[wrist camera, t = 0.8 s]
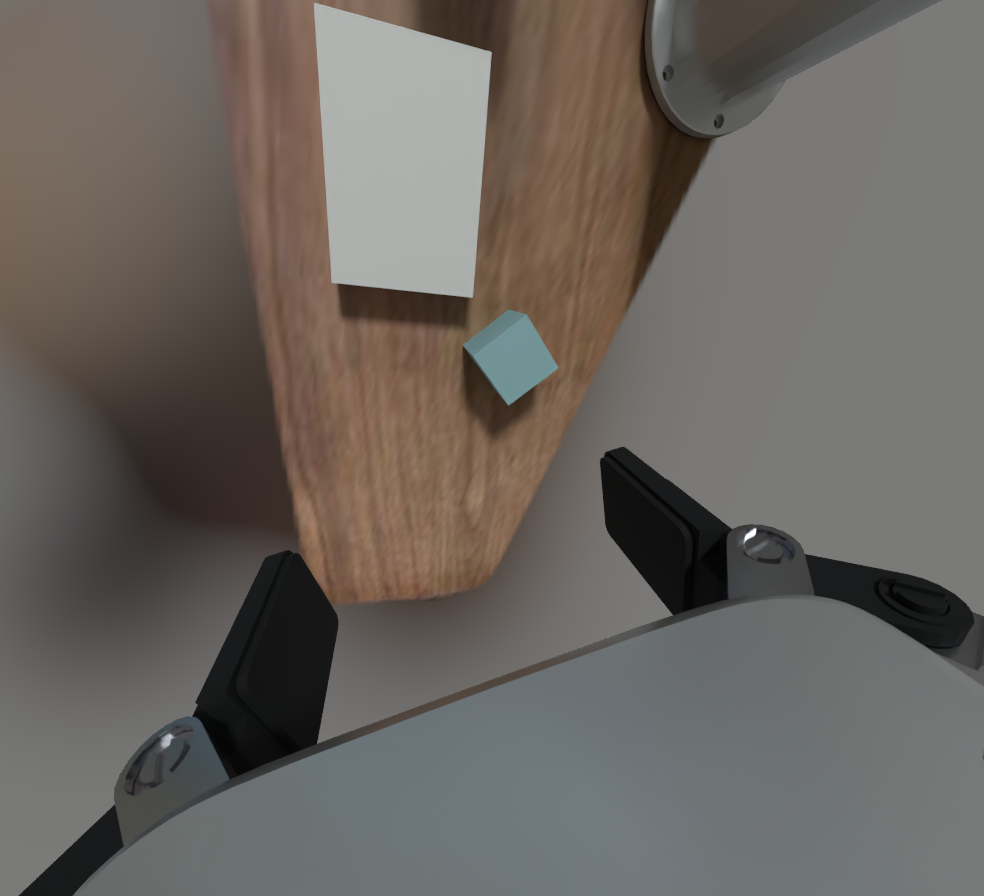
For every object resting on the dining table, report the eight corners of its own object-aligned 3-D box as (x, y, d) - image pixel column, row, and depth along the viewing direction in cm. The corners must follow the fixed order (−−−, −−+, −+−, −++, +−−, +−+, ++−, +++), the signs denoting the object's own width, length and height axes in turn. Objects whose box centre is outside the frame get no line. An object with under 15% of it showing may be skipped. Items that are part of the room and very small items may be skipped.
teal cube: (508, 309, 32) (526, 314, 27) (537, 356, 34) (558, 368, 29) (462, 345, 32) (472, 356, 27) (494, 388, 34) (508, 405, 30)
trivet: (322, 30, 22) (313, 2, 20) (483, 72, 25) (491, 52, 22) (337, 282, 28) (331, 282, 26) (467, 296, 30) (472, 297, 28)
